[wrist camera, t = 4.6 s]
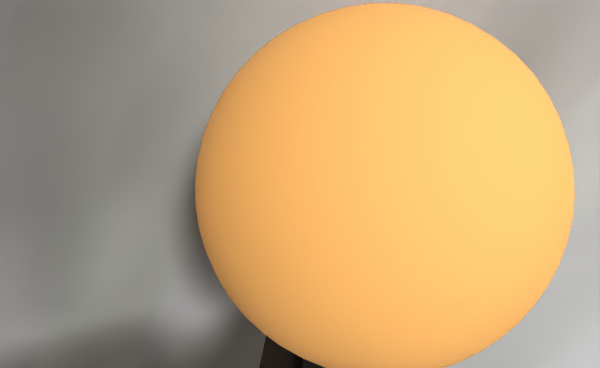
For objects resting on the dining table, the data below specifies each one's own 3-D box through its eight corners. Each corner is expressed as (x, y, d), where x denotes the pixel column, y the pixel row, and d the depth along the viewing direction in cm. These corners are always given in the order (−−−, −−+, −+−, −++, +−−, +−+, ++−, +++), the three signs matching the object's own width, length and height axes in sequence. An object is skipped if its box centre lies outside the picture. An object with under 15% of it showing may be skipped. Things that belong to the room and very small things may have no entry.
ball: (257, 15, 10) (180, -119, 4) (515, 68, 10) (775, 1, 4) (212, 263, 10) (99, 421, 5) (450, 313, 10) (597, 526, 5)
